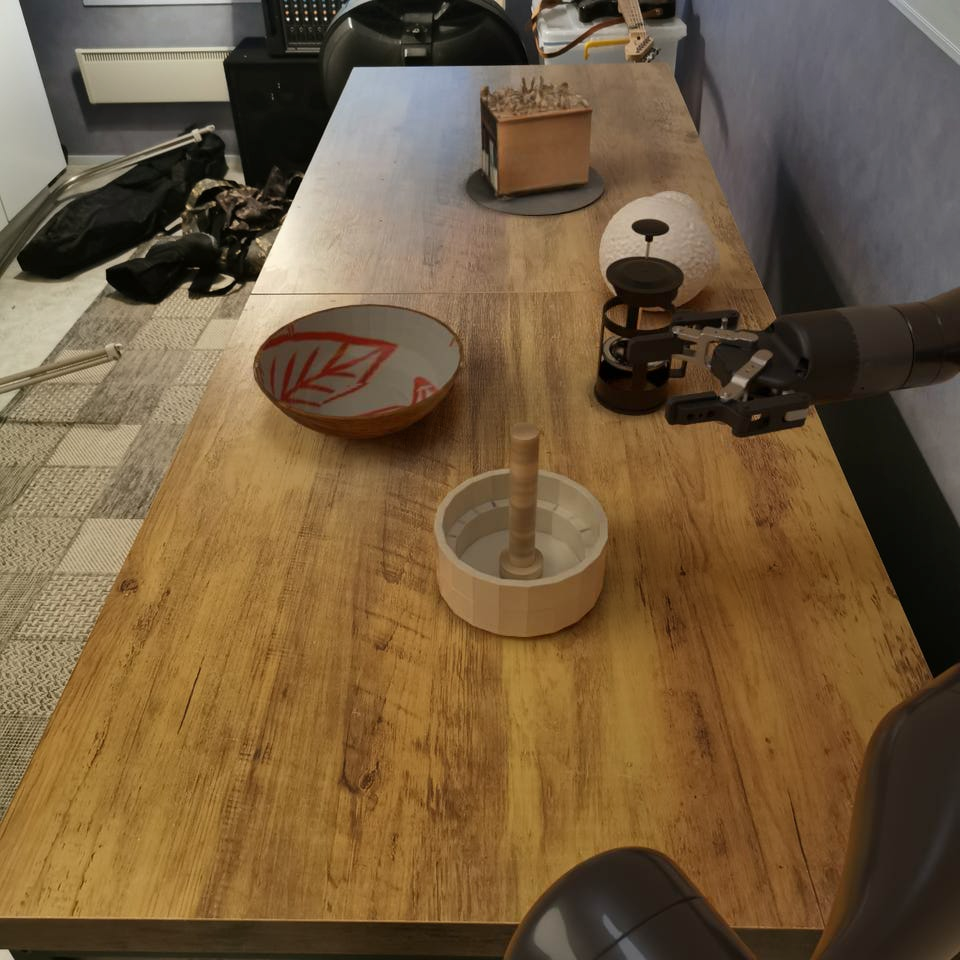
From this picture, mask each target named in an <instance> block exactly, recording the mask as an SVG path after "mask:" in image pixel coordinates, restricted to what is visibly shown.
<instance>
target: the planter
mask: <svg viewBox="0 0 960 960" xmlns="http://www.w3.org/2000/svg"><path fill="white" fill-rule="evenodd" d="M543 76H544V75H541V74H540V75H539V81H540V82H539V84H536V85H535V83H536V82H535V81H536V76H535V75H534V76H533V77H532V80H531V81H530V88H529V89H528V87H527V82H526V79H525V77H522V79H521V80H522V85H521V84H520V85H519V88H518V90H515V89H514V88H513V86H512V85H508V86H507V89H505V87H504V86H503V85H502V84H501V85H500V87H499V89H498V92H497V90H495V91H494V92H492V93H491V90H490V86H489V85H488V84H487V85H484V86H482V87H481V88H480V91H479V95H480V97H479V103H480V108H479V109H480V110H479V111H480V131H481V132H480V136H481V152H480V153H481V156H480V157H481V167H480V168H479V169H477V170H476V171H474V172H473V173H472V174H471V175H470V176H469V177H468V179H467V181H466V183H465V190H466V193H467V194H468V196H469V197H470V198H471V199H472V200H473V201H475V202H476V203H477V204H479V205H481V206H483V207H484V208H488V209H490V210H492V211H497V212H500V213H506V214H513V215H525V216H541V215H553V214H560V213H566V212H571V211H574V210H578V209H581V208H583V207H586V206H587V205H589V204H591V203H592V202H594V201H596V200H597V199H599V197H600V196H601V195H602V193H603V192H604V189H605V180H604V178H603V176H602V175H601V174H600V173H599V171H597V170H596V169H595V168H593V167H592V166H590V159H591V158H590V157H591V135H592V134H591V133H592V132H591V131H592V117H593V111H594V108H593V107H592V106H591V105H590V103H588V100H587V99H586V98H585V97H584V96H583V95H582V94H581V92H579V91H577V89H576V87H574V86H573V85H572V84H569V83H568V82H567V81H563V82H561V83H560V84H554V85H553V83H549V85H548V84H547V83H545V78H544V77H543ZM544 83H545V84H544ZM534 85H535V86H534Z"/></svg>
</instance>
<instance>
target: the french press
mask: <svg viewBox="0 0 960 960" xmlns="http://www.w3.org/2000/svg"><path fill="white" fill-rule="evenodd" d="M631 228H632V230H633V231H634V232H636V233H638V234H641V235H644V236H645V241H646V242H647V247H646V255H645V256H635V257H627V258H623V259H619V260H617V261H615V262H613V263H612V264H610V265H609V266H608V268H607V270H606V278H607V280H608V281H609V283H610V284H611V285H613V288H614V290H615V292H616V294H617V296H615V295H614V296H612V297H610V298H609V299H607V300H606V302H604V304H603V306H602V311H601V323H600V324H601V325H600V337H599V345H598V346H599V347H598V358H597V359H598V361H597V369H596V370H597V371H596V379H595V381H596V382H595V384H594V386H593V395H594V397H595V399H596V401H597V402H598V404H600V405H601V406H602V407H604V408H605V409H607V410H609V411H611V412H614V413H617V414H620V415H621V414H622V415H625V416H644V415H648V414H652V413H655V412H657V411H659V410H660V409H662V408H663V407H664V406H666V402H667V400H668V399H669V390H668V388H669V381H670V379H684V378H685V377H686V374H687V373H686V372H687V368H688V361H684V360H681V364H680V367H679V368H672V361H673V358H672V357H671V360H666V361H658V362H651V363H643V364H635V365H632V364H630V362H629V361H628V359H627V357H626V355H627V347H628V341H629V340H630V339H631V338H633V337H637V336H645V335H652V334H660V333H667V332H669V329H670V323H669V324H667V325H665V326H662V327H659V328H654V329H641V322H642V314H643V310H642V308H654V307H661V308H663V309H665V311H666V312H667V313H669V314H670V315H671V316H672V315H675V314H686V313H694V312H693V309H688V308H678V307H676V306H675V305H674V304H673V303H671V302H672V301H674V300H675V299H676V297H677V294H678V289H679V287H680V286H681V285H682V284H683V281H684V274H683V272H682V270H681V269H680V268H679V267H678V266H676V265H675V264H673V263H671V262H669V261H666V260H663V259H659V258H655V257H649V249H650V242H652V241H653V237H654V236H660V235H664V234H666V233H667V232H668V231H669V226H668V225H667V224H666V223H665V222H663V221H660V220H656V219H641V220H638V221H635V222H634V223H633V224H632V226H631ZM619 305H627V309H626V318H625V326H624V325H620V324H618V323H616V322H615V321H613V320H612V319H610V318H609V317H608V316H607V314H606V313H607V312H608V311H609V310H611V309H613V308H615V307H617V306H619ZM686 327H687V328H692V329H694V325H689V326H686ZM605 329H607V330H608V331H609V332H610V333H612V334H614V335H613V336H611V337H608V338H607V339H606V340H605V341H604V337H605ZM684 348H687V349H691V345H686V346H684ZM626 377H630V378H631V382H630V389H629V390H625V389H621V388H617V387H615V386H613V385H611V384H609V383H610V382H611V381H613V380H615V379H620V378H626ZM647 382H649V383H651V384H652V385H653V386H654V387H655V388H653V389H649V390H646V383H647Z"/></svg>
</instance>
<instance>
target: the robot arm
mask: <svg viewBox="0 0 960 960" xmlns="http://www.w3.org/2000/svg"><path fill="white" fill-rule="evenodd" d="M740 316H741V313H740V312H739V311H738V310H736V309H723V310H711V311H700V312H693V313H686V314H675V315H671V316H670V321H669V322H670V323H669V324H670V329H669V332H667V333H660V334H652V335H645V336H637V337H633V338H631V339H630V340H629V341H628V347H627V355H626V357H627V359H628V361H629V362H630V364H632V365H635V364H643V363H651V362H658V361H666V360H671V357H672V359H675V360H680V361H682V360H684V361H688V362H689V363H692V365H693V366H694V367H695V368H696V369H697V370H701V371H704V372H709V373H711V374H712V375H713V377H715V378H716V379H717V380H718V381H720V385H721V390H720V391H719V392H718V394H717V393H716V392H715V390H708V391H700V392H693V393H686V394H679V395H678V394H677V395H673V396H670V397H668V399H667V402H666V403H665V409H664V415H663V417H664V419H665V420H666V422H667V424H668V425H669V426H677V425H678V426H688V425H689V426H690V425H696V424H703V423H710V422H714V423H716V424H718V425H719V426H722V425H723V426H726V425H727V426H728V427H730V428H731V434H732V436H733V437H735V438H740V439H745V438H749V437H754V436H760V435H765V434H770V433H775V432H782V431H787V430H791V429H796V428H802V427H804V426H805V424H806V420H807V416H808V413H809V409H810V407H811V406H819V405H825V404H832V403H841V402H846V401H854V400H860V399H866V398H871V397H875V396H878V395H882V394H885V393H889V392H895V391H902V390H908V389H916V388H924V387H932V386H937V385H941V384H944V383H947V382H949V381H951V380H952V379H955V377H956V376H957V375H958V374H960V285H959V286H957V287H955V288H952V289H949V290H947V291H944V292H943V293H940V294H938V295H936V296H933V297H931V298H928V299H926V300H921V301H920V300H919V301H911V302H903V303H895V304H887V305H853V306H852V305H851V306H844V307H837V308H828V309H819V310H811V311H805V312H804V311H803V312H795V313H788V314H783V315H779V316H778V317H776V318H775V319H774V320H773V321H772V322H770V324H769V325H768V326H766V327H765V328H764V329H761V330H758V329H757V330H755V329H746V328H743V327H742V326H741V324H740V323H739V321H740ZM689 325H693V326H695V328H693V329H692V328H687V326H689ZM710 344H717V345H716V346H715V347H714V349H713V351H712V355H711V357H710V356H709V348H710ZM686 345H690V346H696V345H697V348H696V350H695V349H692V348H690V349H687V348H684V346H686ZM688 362H687V363H688ZM758 415H760V416H759V418H757V419H754V420H752V418H753V416H758ZM959 952H960V661H958V662H957V663H954V664H953V665H951V666H950V667H949V668H948V669H946V670H945V671H943V672H942V673H940V674H939V675H937V676H936V677H935V678H933V679H931V680H930V681H929V682H927V683H926V684H925V685H923V686H922V687H920V688H919V689H918V690H916V691H914V692H913V693H911V694H910V695H909V696H907V697H906V698H905V699H903V700H902V701H901V702H899V703H898V704H896V705H895V706H893V707H892V708H891V709H890V710H889V711H888V712H886V714H885V715H884V716H883V717H882V718H881V719H880V721H879V722H878V724H877V725H876V727H875V728H874V730H873V732H872V735H871V736H870V738H869V740H868V742H867V745H866V748H865V751H864V754H863V758H862V761H861V765H860V768H859V773H858V778H857V783H856V788H855V792H854V799H853V804H852V811H851V818H850V827H849V832H848V839H847V846H846V852H845V857H844V863H843V867H842V871H841V875H840V880H839V882H838V886H837V890H836V893H835V896H834V899H833V903H832V906H831V908H830V912H829V915H828V918H827V921H826V924H825V926H824V929H823V932H822V934H821V936H820V939H819V941H818V943H817V945H816V947H815V949H814V951H813V953H812V954H811V955H812V956H811V957H810V959H809V960H952V959H953V958H954V957H955V956H957V954H958V953H959ZM502 960H759V959H758V958H757V957H756V956H755V954H754V953H753V952H752V951H751V950H750V948H749V947H748V946H747V945H746V944H745V943H744V941H743V940H742V939H741V938H740V937H739V935H738V934H737V933H736V932H735V930H734V929H733V928H732V927H731V925H730V924H729V923H728V922H727V921H726V920H725V918H724V917H723V916H722V915H721V913H719V911H718V909H716V908H715V906H714V905H713V904H712V902H711V901H710V900H709V899H708V898H707V897H706V896H705V895H704V893H702V892H701V890H700V889H699V888H698V886H697V885H696V884H695V883H694V882H693V880H692V879H691V878H690V877H689V875H688V874H687V873H686V872H685V870H684V869H683V868H682V867H681V866H680V865H679V864H678V863H677V862H676V861H675V860H674V859H672V858H671V857H670V856H669V855H667V854H666V853H664V852H661V851H660V850H658V849H654V848H652V847H648V846H641V845H639V846H638V845H637V846H636V845H628V846H619V847H614V848H610V849H607V850H604V851H602V852H599V853H596V854H594V855H593V856H591V857H589V858H587V859H585V860H583V861H581V862H579V863H578V864H576V865H574V866H573V867H572V868H570V869H569V870H567V871H566V872H565V873H563V874H562V875H560V877H558V878H557V879H556V880H555V881H554V882H553V883H551V885H549V886H548V887H547V888H546V890H544V891H543V892H542V894H541V895H540V896H539V897H538V898H537V899H536V901H535V902H534V903H533V904H532V905H531V907H530V908H529V910H528V911H527V912H526V914H525V915H524V916H523V918H522V920H521V921H520V923H519V924H518V926H517V928H516V930H515V931H514V933H513V935H512V937H511V939H510V941H509V944H508V946H507V948H506V951H505V953H504V956H503V958H502Z"/></svg>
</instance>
